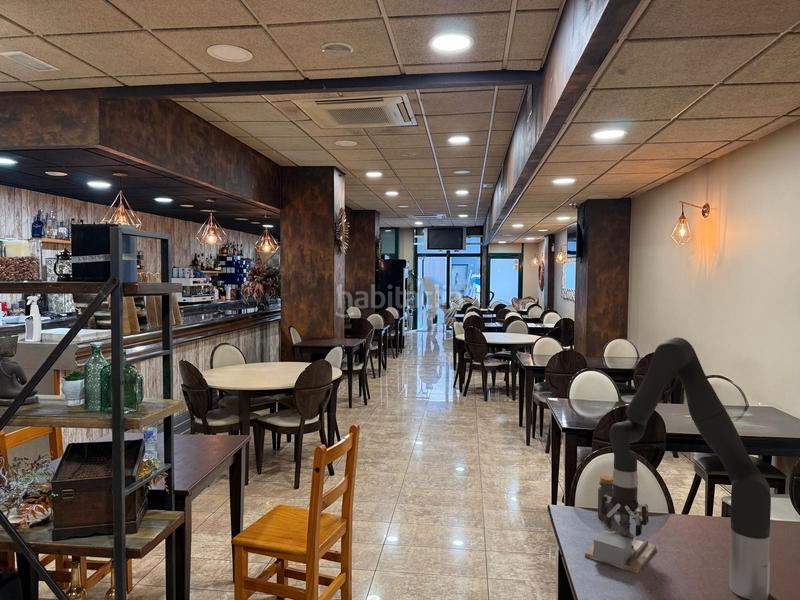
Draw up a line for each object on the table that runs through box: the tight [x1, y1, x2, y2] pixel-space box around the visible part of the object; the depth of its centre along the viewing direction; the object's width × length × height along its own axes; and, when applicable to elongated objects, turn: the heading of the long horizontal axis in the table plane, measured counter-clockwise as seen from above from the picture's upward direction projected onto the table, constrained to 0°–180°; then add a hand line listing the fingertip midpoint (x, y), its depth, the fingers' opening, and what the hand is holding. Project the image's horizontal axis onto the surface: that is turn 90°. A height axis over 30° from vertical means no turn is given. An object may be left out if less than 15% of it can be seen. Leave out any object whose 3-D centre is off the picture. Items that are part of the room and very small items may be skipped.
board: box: [584, 530, 657, 574], centre depth 177 cm, size 16×20×2 cm
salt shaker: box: [615, 513, 635, 548], centre depth 179 cm, size 6×6×12 cm
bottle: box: [597, 475, 616, 522], centre depth 203 cm, size 6×6×15 cm
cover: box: [593, 530, 632, 567], centre depth 170 cm, size 9×8×6 cm
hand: (624, 531), depth 179 cm, fingers open, 8 cm apart
